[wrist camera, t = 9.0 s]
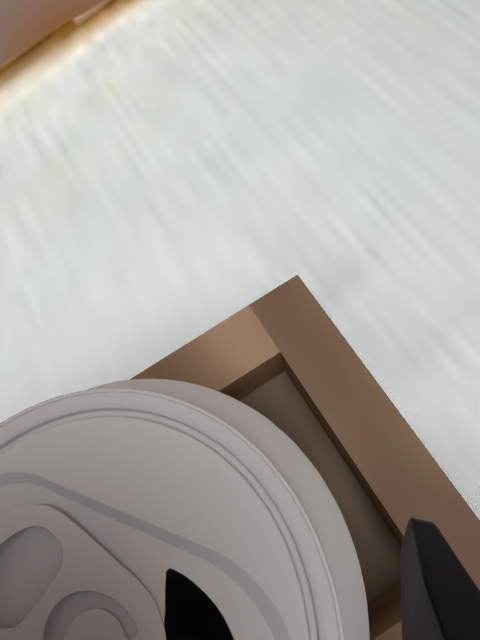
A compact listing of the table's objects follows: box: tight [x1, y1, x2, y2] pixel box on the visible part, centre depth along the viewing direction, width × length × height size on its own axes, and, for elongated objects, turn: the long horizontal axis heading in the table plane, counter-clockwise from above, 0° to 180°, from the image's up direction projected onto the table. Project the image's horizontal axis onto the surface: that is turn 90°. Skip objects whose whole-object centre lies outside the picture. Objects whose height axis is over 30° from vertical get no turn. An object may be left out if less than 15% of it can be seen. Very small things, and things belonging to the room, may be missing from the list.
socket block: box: [130, 275, 480, 640], centre depth 15 cm, size 12×12×4 cm
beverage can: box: [0, 379, 370, 640], centre depth 10 cm, size 6×6×12 cm
